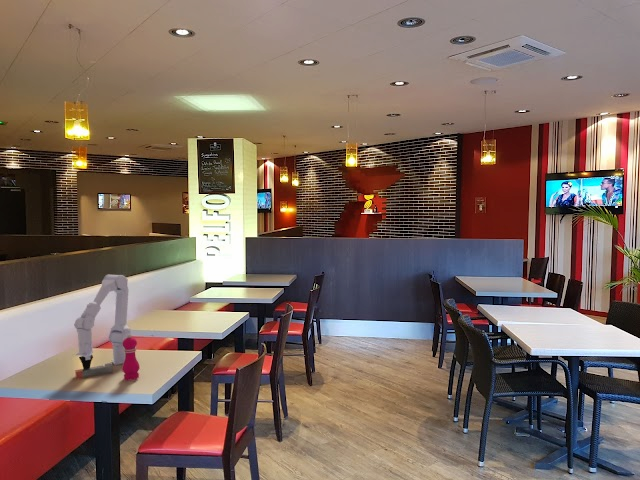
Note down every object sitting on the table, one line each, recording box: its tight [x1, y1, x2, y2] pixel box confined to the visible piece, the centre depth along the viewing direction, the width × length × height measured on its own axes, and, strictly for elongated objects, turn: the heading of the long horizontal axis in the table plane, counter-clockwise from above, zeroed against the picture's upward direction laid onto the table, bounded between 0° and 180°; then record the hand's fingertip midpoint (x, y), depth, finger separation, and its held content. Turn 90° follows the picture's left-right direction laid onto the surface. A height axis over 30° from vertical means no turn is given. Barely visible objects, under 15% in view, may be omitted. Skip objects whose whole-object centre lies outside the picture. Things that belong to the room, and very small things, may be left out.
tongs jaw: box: [74, 364, 104, 378], centre depth 227 cm, size 12×2×3 cm, turn 123°
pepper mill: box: [122, 334, 140, 381], centre depth 221 cm, size 7×7×20 cm
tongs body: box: [75, 362, 113, 380], centre depth 227 cm, size 16×5×3 cm, turn 123°
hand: (86, 371), depth 227 cm, fingers closed
